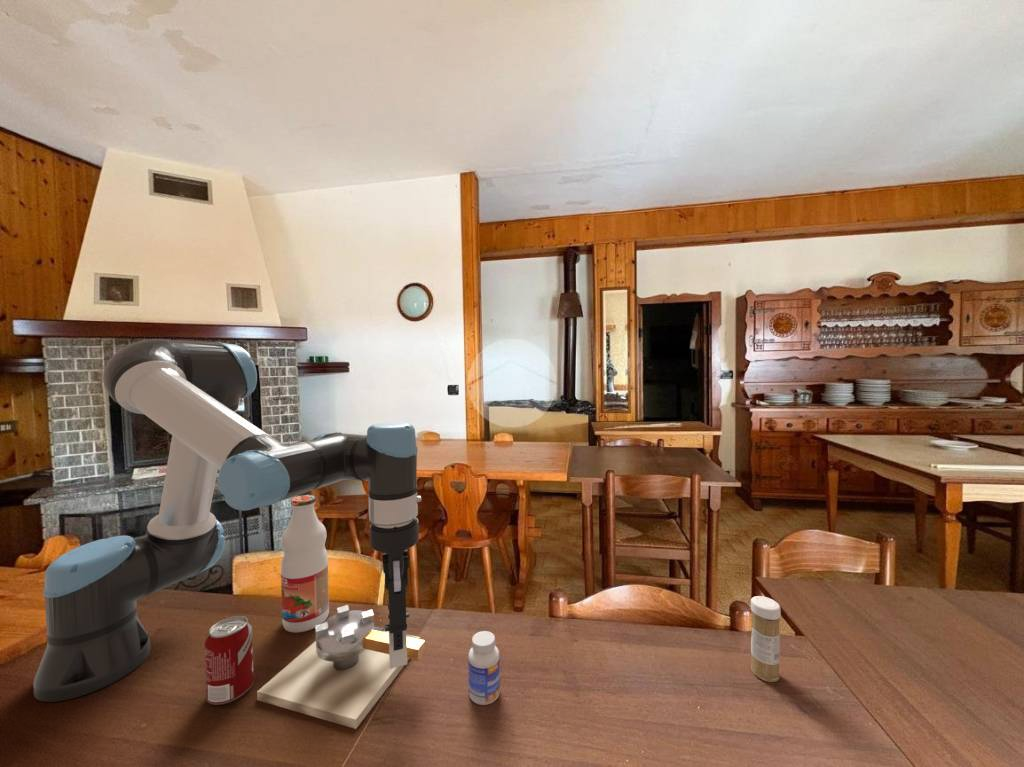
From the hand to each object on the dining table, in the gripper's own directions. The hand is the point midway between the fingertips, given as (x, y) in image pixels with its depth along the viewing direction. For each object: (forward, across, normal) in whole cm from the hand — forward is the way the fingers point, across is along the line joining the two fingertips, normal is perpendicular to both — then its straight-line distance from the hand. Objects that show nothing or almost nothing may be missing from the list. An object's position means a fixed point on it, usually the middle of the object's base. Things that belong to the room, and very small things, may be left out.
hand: (398, 663), depth 64 cm
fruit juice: (+9, +33, +19) cm, 39 cm away
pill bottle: (+9, 0, -14) cm, 17 cm away
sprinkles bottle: (+10, -13, -64) cm, 66 cm away
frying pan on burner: (+3, +10, +5) cm, 12 cm away
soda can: (+9, +15, +28) cm, 33 cm away
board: (+9, +14, +9) cm, 18 cm away
